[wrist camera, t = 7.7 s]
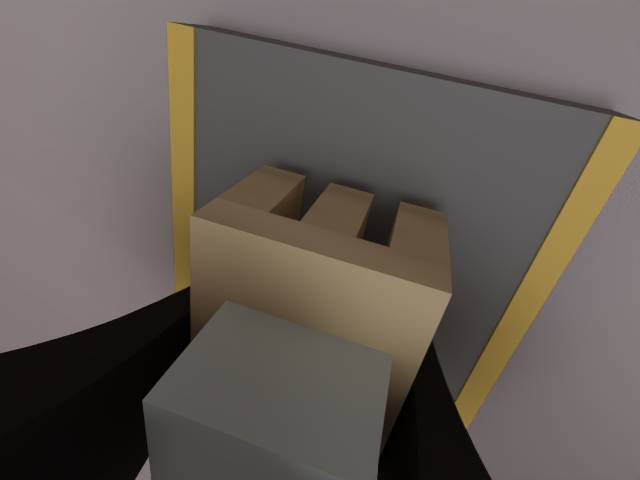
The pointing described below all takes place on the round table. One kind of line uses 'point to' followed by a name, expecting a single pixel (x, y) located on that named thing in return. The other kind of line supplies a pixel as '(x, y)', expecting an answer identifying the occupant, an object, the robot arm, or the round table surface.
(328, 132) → the dock
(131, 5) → the round table surface
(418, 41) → the round table surface
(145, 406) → the grey block
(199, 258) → the pallet
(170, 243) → the round table surface
